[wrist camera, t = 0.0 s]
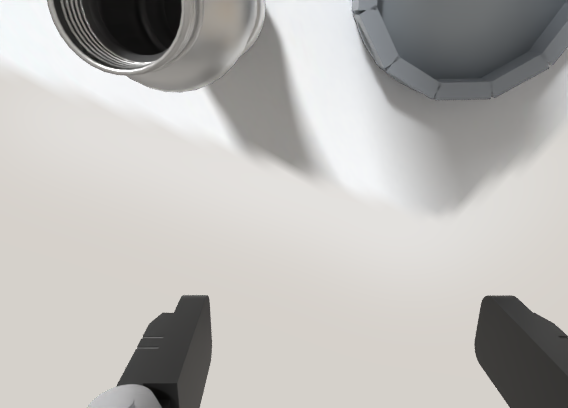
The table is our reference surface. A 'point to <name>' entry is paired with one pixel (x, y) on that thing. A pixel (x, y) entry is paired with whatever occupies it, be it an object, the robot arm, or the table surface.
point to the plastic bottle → (160, 37)
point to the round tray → (463, 42)
